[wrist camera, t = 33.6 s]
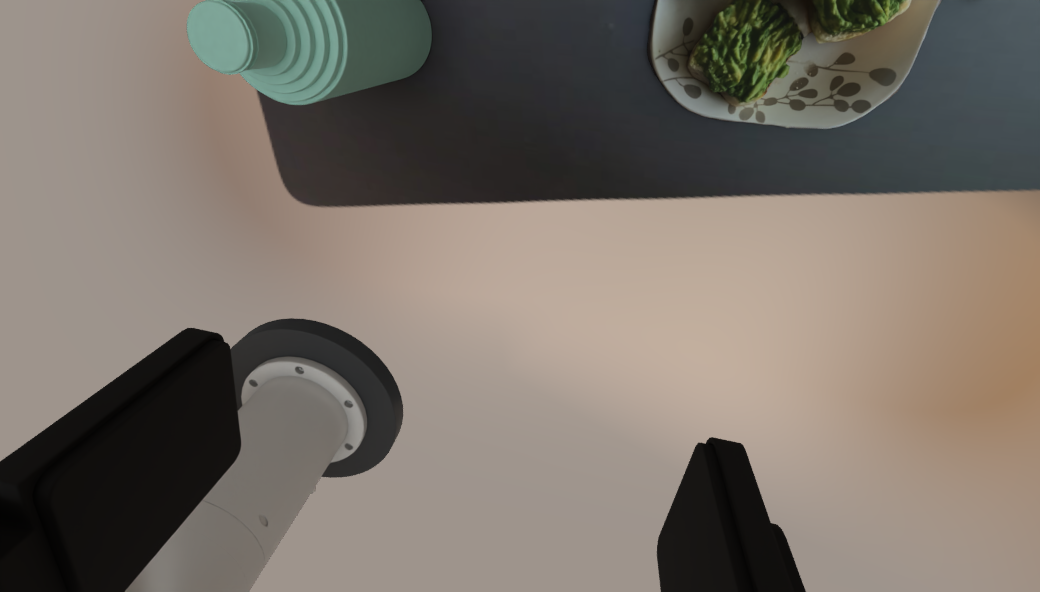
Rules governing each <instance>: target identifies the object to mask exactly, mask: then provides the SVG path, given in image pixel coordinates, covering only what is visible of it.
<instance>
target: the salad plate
mask: <svg viewBox="0 0 1040 592" xmlns="http://www.w3.org/2000/svg"><path fill="white" fill-rule="evenodd" d="M940 3H941V0H655V3H654V7H653V10H652V14H651V18H650V31H649V37H648V46H647V53H648V58H649V62H650V64H651V66H652V69H653V71H654V74H655V75H656V76H657V78H658V79H659V81H660V82H661V84H662V85H663V87H664V88H665V90H666V91H667V92H668V93H669V94H670V95H671V96H672V97H673V98H674V99H675V100H676V101H677V102H678V103H679V104H680V105H681V106H683V107H684V108H685V109H687V110H688V111H691V112H693V113H695V114H698V115H700V116H703V117H707V118H712V119H715V120H723V121H733V122H747V123H755V124H763V125H775V126H781V127H786V128H793V127H794V128H816V129H830V128H834V127H839V126H842V125H845V124H847V123H850V122H852V121H854V120H856V119H860V118H861V117H862V116H864V115H865V114H867V113H869V112H870V111H871V110H873V109H874V108H876V107H877V106H878V105H880V104H881V103H883V102H885V101H886V100H888V99H889V98H891V97H892V96H893V95H894V94H895V93H896V92H897V91H898V90H899V88H900V86H901V85H902V83H903V82H904V80H905V79H906V77H907V76H908V74H909V71H910V69H911V67H912V65H913V63H914V61H915V59H916V56H917V54H918V52H919V49H920V47H921V44H922V42H923V40H924V38H925V36H926V33H927V29H928V27H929V25H930V22H931V20H932V17H933V15H934V13H935V11H936V9H937V7H938V6H939V5H940Z"/></svg>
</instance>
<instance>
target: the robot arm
mask: <svg viewBox="0 0 1040 592" xmlns="http://www.w3.org/2000/svg"><path fill="white" fill-rule="evenodd" d="M241 399H242V407H241V408H240V409H239V410H237V401H236V392H235V384H234V375H233V367H232V358H231V350H230V346H229V345H228V343H225V342H224V340H223V337H222V336H221V335H220V334H218V333H214V332H209V331H204V330H200V329H195V328H187V329H185V330H183V331H181V332H180V333H179V334H177V335H176V336H175V337H173V338H172V339H170V340H169V341H168V342H166V343H165V344H163V345H162V346H161V347H159V348H158V349H156V350H155V351H154V352H152V353H151V354H149V355H148V356H147V357H145V358H144V359H142V360H141V361H140V362H139V363H137V364H136V365H134V366H133V367H132V368H130V369H129V370H127V371H126V372H124V373H123V374H122V375H120V376H119V377H117V378H116V379H115V380H113V381H112V382H110V383H109V384H108V385H106V386H105V387H103V388H102V389H101V390H99V391H98V392H97V393H95V394H94V395H92V396H91V397H90V398H88V399H87V400H85V401H84V402H83V403H81V404H80V405H79V406H77V407H76V408H74V409H73V410H71V411H70V412H69V413H67V414H66V415H64V416H63V417H62V418H60V419H59V420H58V421H56V422H55V423H53V424H52V425H51V426H49V427H48V428H46V429H45V430H44V431H42V432H41V433H39V434H38V435H37V436H35V437H34V438H32V439H31V440H30V441H28V442H27V443H26V444H24V445H23V446H21V447H20V448H19V449H18V450H16V451H15V452H13V453H12V454H10V455H9V456H7V457H6V458H5V459H3V460H2V461H0V592H249V591H250V589H251V588H252V586H253V584H254V583H255V581H256V580H257V578H258V576H259V575H260V573H261V571H262V570H263V568H264V567H265V565H266V564H267V562H268V560H269V559H270V557H271V555H272V554H273V552H274V551H275V549H276V548H277V546H278V545H279V543H280V541H281V540H282V538H283V537H284V535H285V533H286V532H287V530H288V529H289V527H290V525H291V524H292V522H293V521H294V519H295V518H296V516H297V514H298V513H299V511H300V510H301V508H302V506H303V505H304V503H305V502H306V500H307V499H308V497H309V495H310V494H312V493H313V492H314V491H315V489H316V484H317V483H318V481H319V480H320V478H321V476H322V475H323V473H324V472H325V470H326V468H327V467H328V465H329V464H330V463H332V462H336V461H340V460H342V459H344V458H347V457H348V456H350V455H351V454H352V453H354V452H355V450H356V449H357V448H358V447H359V445H360V444H361V442H362V440H363V438H364V437H365V433H366V430H367V415H366V410H365V407H364V405H363V403H362V400H361V398H360V397H359V395H358V394H357V392H356V391H355V389H354V388H353V387H352V386H351V385H350V384H349V383H348V382H347V381H346V380H345V379H344V378H343V377H341V376H340V375H339V374H338V373H336V372H335V371H333V370H332V369H330V368H328V367H326V366H325V365H322V364H320V363H318V362H315V361H313V360H309V359H305V358H301V357H290V356H288V357H277V358H274V359H270V360H267V361H266V362H264V363H262V364H260V365H259V366H258V367H257V368H256V369H255V370H253V371H252V372H251V373H250V375H249V376H248V377H247V378H246V380H245V382H244V385H243V387H242V395H241ZM657 560H658V569H659V578H660V587H661V592H806V591H805V588H804V586H803V583H802V580H801V578H800V575H799V572H798V569H797V567H796V564H795V561H794V558H793V556H792V553H791V551H790V548H789V545H788V542H787V539H786V537H785V535H784V533H783V531H782V529H781V528H780V527H779V526H778V525H776V524H772V523H770V520H769V517H768V514H767V511H766V508H765V505H764V502H763V500H762V497H761V494H760V491H759V488H758V485H757V482H756V479H755V476H754V474H753V471H752V468H751V465H750V462H749V459H748V456H747V453H746V451H745V448H744V446H743V445H742V444H741V443H736V442H732V441H727V440H722V439H718V438H713V437H712V438H709V439H708V440H707V442H706V444H704V443H698V444H697V445H696V447H695V449H694V452H693V454H692V457H691V459H690V462H689V464H688V466H687V469H686V471H685V474H684V476H683V479H682V481H681V484H680V486H679V489H678V491H677V494H676V496H675V498H674V501H673V503H672V506H671V509H670V511H669V513H668V516H667V518H666V521H665V523H664V526H663V528H662V530H661V533H660V535H659V539H658V545H657Z"/></svg>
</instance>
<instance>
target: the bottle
mask: <svg viewBox="0 0 1040 592" xmlns="http://www.w3.org/2000/svg"><path fill="white" fill-rule="evenodd" d="M187 34H188V39H189V42H190V44H191V47H192V49H193V50H194V52H195V54H196V55H197V56H198V57H199V59H200V60H201V61H202V62H203V63H204V64H206V65H207V66H209V67H210V68H212V69H214V70H216V71H218V72H220V73H224V74H229V75H231V74H238V73H240V75H241V76H242V77H243V78H244V79H245V80H246V81H247V82H248V83H249V84H250V85H251V86H253V87H254V88H255V89H257V90H258V91H259V92H261V93H263V94H264V95H266V96H268V97H270V98H272V99H274V100H276V101H279V102H282V103H286V104H291V105H305V104H311V103H315V102H318V101H322V100H326V99H329V98H333V97H337V96H341V95H344V94H348V93H352V92H355V91H359V90H363V89H367V88H370V87H374V86H378V85H381V84H385V83H389V82H393V81H396V80H400V79H403V78H406V77H409V76H411V75H413V74H414V73H415V72H417V71H418V70H419V69H420V68H421V66H422V65H423V64H424V62H425V61H426V59H427V57H428V54H429V52H430V48H431V42H432V30H431V23H430V19H429V16H428V13H427V11H426V9H425V7H424V5H423V3H422V2H421V0H206V1H203V2H200V3H199V4H197V5H196V6H195V7H194V8H193V9H192V10H191V12H190V14H189V17H188V20H187Z"/></svg>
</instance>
